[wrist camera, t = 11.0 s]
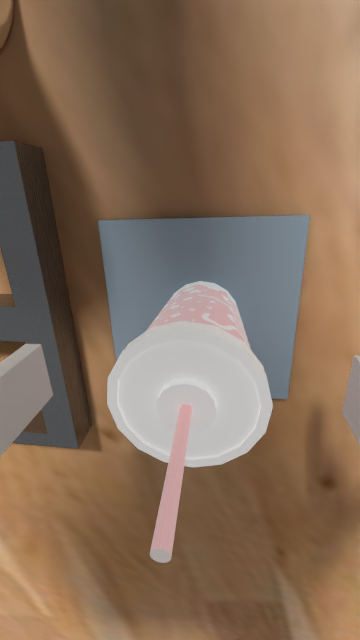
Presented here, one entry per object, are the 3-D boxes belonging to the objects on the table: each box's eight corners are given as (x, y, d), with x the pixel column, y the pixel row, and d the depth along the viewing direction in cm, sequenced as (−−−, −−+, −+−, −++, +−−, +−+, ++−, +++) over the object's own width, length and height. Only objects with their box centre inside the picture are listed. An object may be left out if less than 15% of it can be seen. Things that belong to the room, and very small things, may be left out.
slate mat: (101, 220, 18) (97, 220, 18) (307, 214, 17) (310, 215, 16) (121, 386, 23) (119, 390, 22) (285, 394, 21) (287, 399, 21)
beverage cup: (266, 338, 19) (352, 622, 6) (181, 370, 21) (116, 644, 8) (226, 251, 18) (236, 401, 5) (138, 293, 19) (-32, 489, 6)
